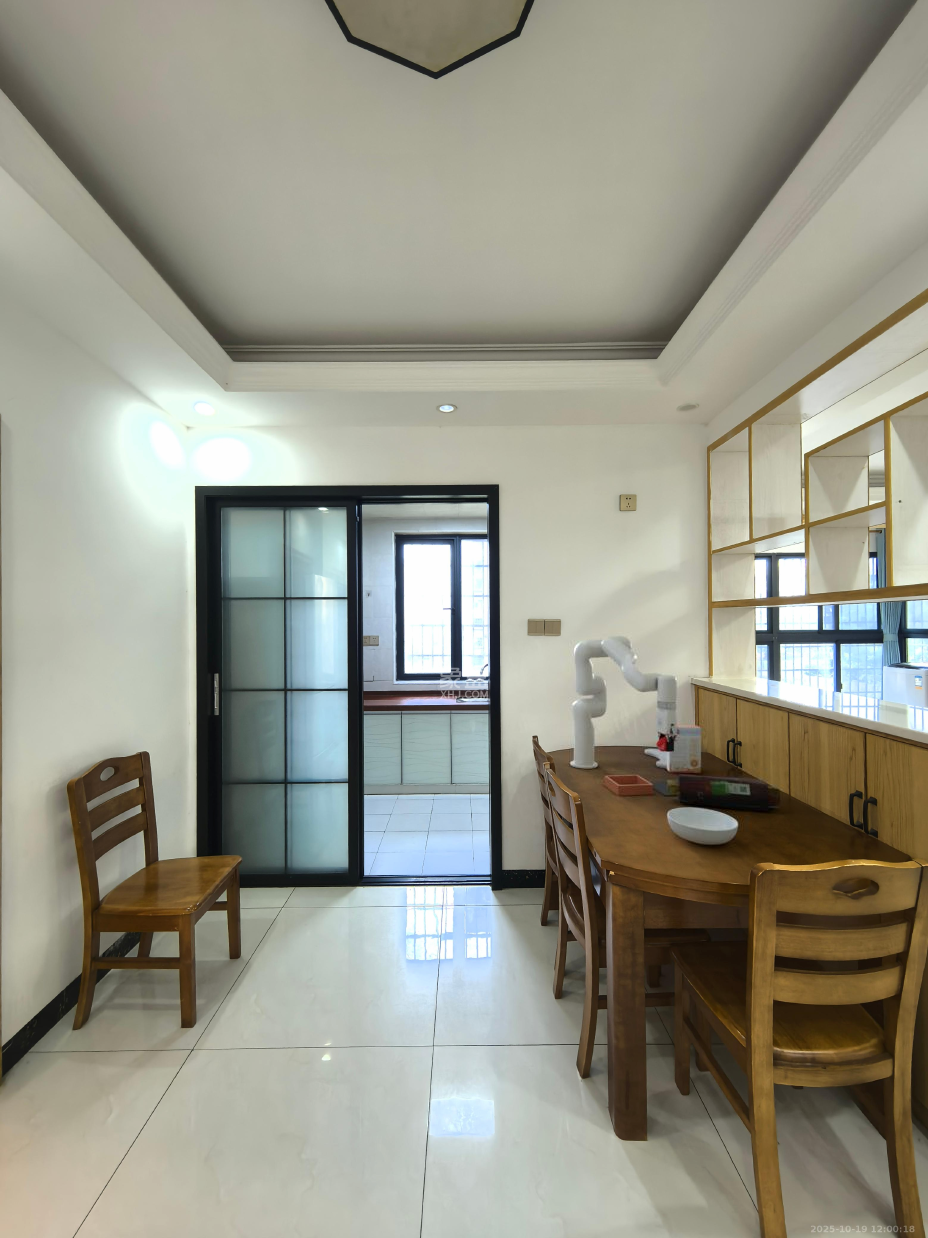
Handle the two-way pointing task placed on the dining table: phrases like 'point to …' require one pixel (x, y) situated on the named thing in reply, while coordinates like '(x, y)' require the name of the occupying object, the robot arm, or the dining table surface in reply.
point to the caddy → (628, 785)
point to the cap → (662, 744)
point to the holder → (659, 755)
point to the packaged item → (725, 792)
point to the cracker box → (685, 751)
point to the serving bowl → (702, 825)
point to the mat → (661, 788)
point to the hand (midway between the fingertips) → (666, 749)
